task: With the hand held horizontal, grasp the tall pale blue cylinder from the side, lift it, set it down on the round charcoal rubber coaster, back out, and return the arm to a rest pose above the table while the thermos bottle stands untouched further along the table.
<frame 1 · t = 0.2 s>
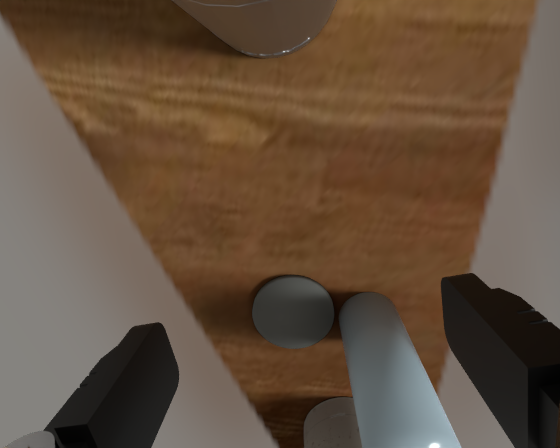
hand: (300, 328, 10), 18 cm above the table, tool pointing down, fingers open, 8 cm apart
coaster: (293, 310, 30), on the table
tall pale blue cylinder: (367, 317, 30), on the table
thermos bottle: (343, 425, 35), on the table
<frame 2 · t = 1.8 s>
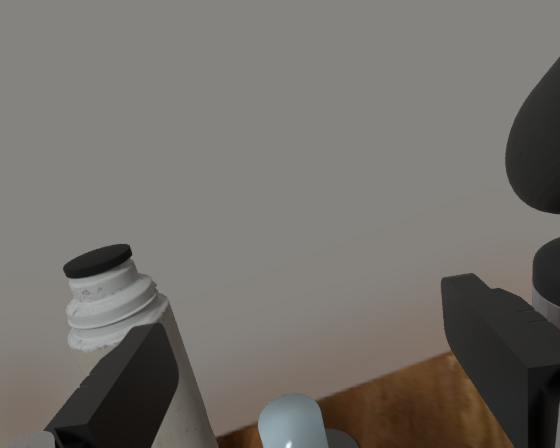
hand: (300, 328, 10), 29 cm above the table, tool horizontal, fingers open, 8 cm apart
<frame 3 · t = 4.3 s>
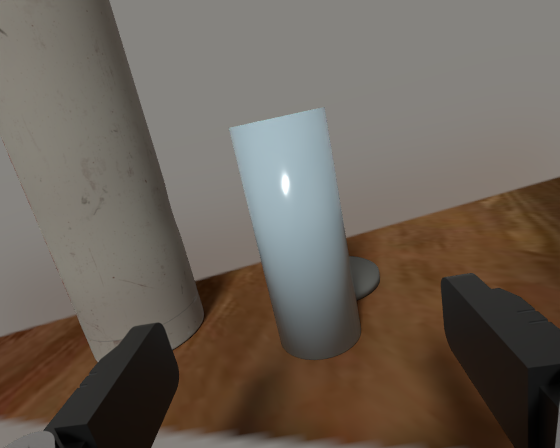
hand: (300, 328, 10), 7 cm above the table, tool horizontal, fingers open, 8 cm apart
coaster: (333, 281, 28), on the table
tall pale blue cylinder: (320, 332, 22), on the table
thermos bottle: (152, 332, 26), on the table
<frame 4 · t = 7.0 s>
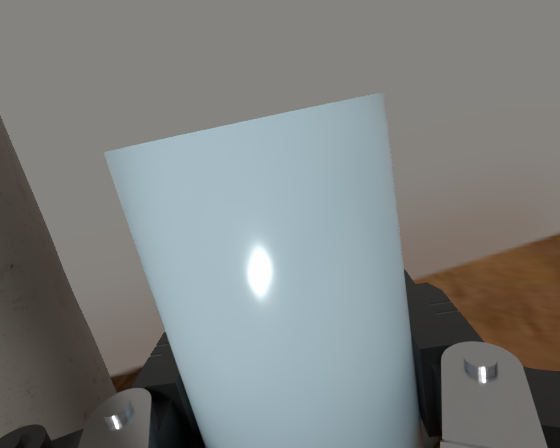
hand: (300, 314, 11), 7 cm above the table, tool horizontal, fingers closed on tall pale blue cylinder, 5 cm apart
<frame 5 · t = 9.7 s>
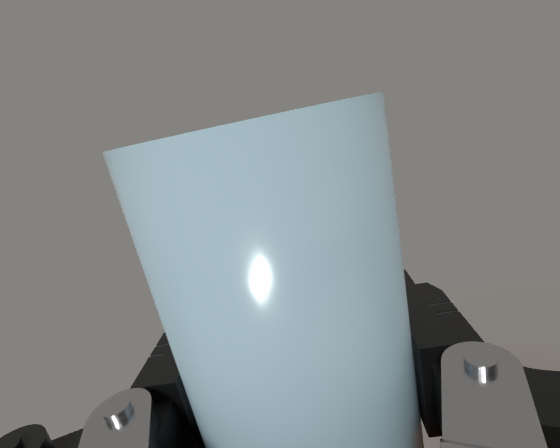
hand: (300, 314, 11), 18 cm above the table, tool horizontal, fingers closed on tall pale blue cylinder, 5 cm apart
when the fingers open (9 cm above the table, at t = 12.3 s): tall pale blue cylinder stays where it is, resting on coaster.
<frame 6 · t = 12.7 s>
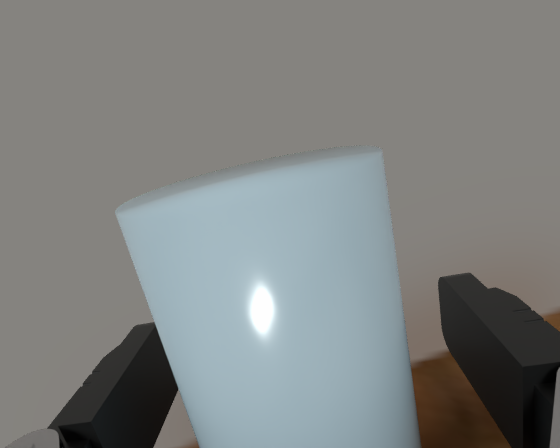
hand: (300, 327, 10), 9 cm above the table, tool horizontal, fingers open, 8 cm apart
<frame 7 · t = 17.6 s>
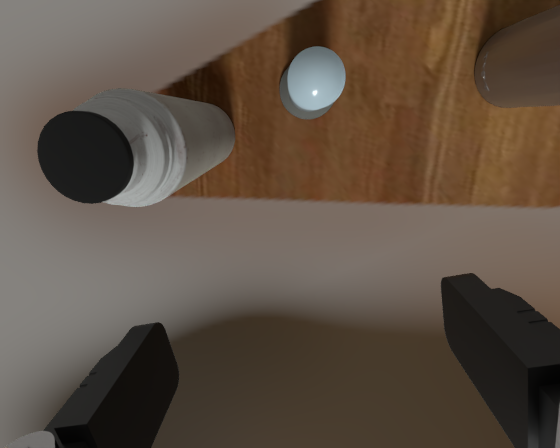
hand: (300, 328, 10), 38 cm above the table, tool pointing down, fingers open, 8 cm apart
coaster: (308, 89, 43), on the table
tall pale blue cylinder: (308, 90, 43), point 1 cm above the table, touching coaster
thermos bottle: (204, 135, 45), on the table
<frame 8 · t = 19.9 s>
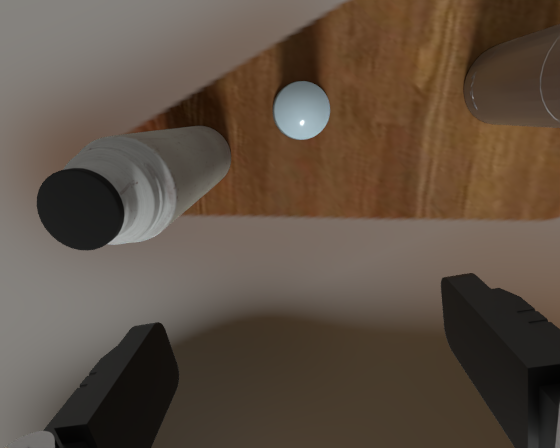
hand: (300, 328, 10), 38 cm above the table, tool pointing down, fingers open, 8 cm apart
tall pale blue cylinder: (300, 112, 44), point 1 cm above the table, touching coaster
thermos bottle: (202, 156, 47), on the table
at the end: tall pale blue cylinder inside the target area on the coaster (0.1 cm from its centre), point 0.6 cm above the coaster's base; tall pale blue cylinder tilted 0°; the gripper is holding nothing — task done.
